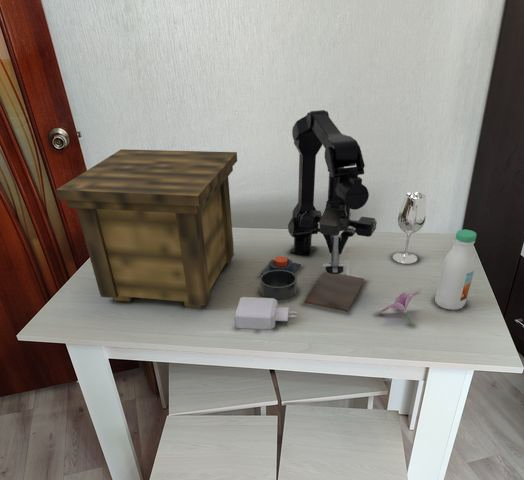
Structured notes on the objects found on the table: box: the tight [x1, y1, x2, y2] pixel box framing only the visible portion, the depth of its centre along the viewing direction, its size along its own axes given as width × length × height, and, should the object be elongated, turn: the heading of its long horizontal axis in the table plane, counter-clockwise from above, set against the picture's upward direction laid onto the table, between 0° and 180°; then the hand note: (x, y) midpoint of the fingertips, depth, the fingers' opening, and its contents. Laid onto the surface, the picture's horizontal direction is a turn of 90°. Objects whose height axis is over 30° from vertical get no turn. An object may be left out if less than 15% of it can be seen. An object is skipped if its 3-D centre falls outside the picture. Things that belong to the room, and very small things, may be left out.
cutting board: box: [303, 271, 366, 313], centre depth 132 cm, size 18×12×1 cm, turn 156°
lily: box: [377, 288, 422, 326], centre depth 119 cm, size 12×12×10 cm
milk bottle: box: [434, 229, 477, 311], centre depth 120 cm, size 8×8×20 cm
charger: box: [234, 296, 298, 330], centre depth 120 cm, size 5×9×15 cm
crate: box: [55, 148, 238, 309], centre depth 130 cm, size 35×35×33 cm
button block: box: [260, 258, 301, 276], centre depth 142 cm, size 10×9×3 cm
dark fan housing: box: [259, 270, 298, 301], centre depth 132 cm, size 10×10×4 cm
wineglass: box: [392, 191, 427, 265], centre depth 141 cm, size 8×8×20 cm
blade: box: [322, 233, 348, 274], centre depth 125 cm, size 7×7×10 cm
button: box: [274, 255, 289, 267], centre depth 141 cm, size 4×4×2 cm
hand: (335, 253), depth 125 cm, fingers closed on blade, 2 cm apart
